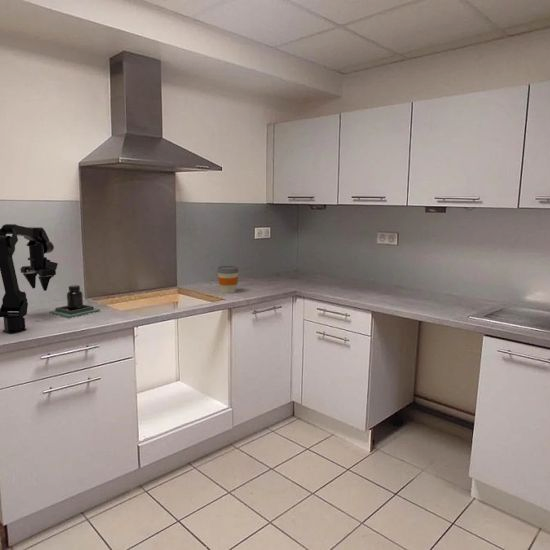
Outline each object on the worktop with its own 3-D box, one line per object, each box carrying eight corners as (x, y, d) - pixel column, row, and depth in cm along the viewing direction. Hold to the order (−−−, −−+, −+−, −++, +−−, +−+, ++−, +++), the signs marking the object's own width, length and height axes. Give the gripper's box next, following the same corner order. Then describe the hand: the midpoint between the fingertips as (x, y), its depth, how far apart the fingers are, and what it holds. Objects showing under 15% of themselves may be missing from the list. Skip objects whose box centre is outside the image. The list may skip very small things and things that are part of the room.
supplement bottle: (64, 311, 205) (63, 286, 203) (77, 308, 210) (76, 284, 208) (73, 313, 201) (71, 287, 199) (86, 310, 207) (85, 285, 205)
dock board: (69, 318, 195) (68, 313, 195) (49, 313, 204) (48, 308, 203) (99, 311, 209) (99, 306, 208) (79, 306, 217) (79, 302, 217)
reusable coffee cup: (237, 294, 254) (237, 269, 251) (216, 293, 254) (216, 268, 251) (239, 290, 266) (239, 266, 264) (219, 289, 266) (218, 265, 264)
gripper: (66, 255, 194) (68, 289, 196) (42, 252, 204) (45, 284, 206) (41, 257, 185) (44, 293, 187) (18, 254, 194) (21, 288, 197)
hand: (39, 289), depth 195 cm, fingers open, 9 cm apart
